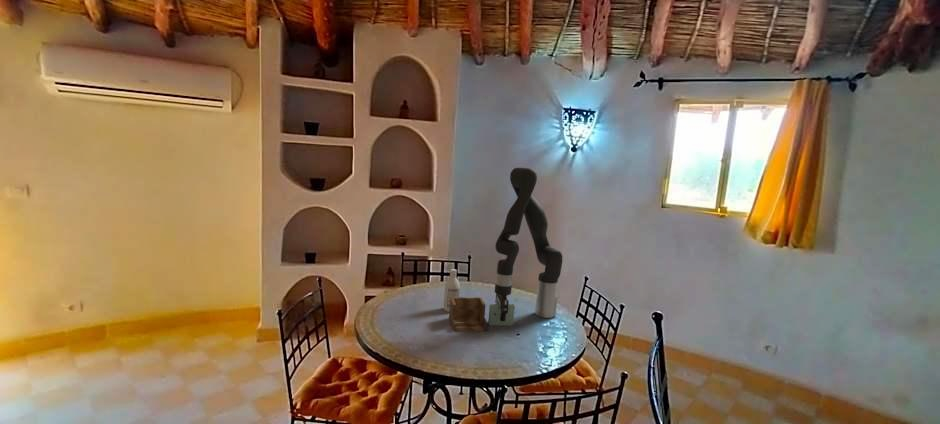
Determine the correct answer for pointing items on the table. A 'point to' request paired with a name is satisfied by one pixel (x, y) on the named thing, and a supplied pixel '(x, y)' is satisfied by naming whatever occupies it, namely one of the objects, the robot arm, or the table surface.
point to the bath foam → (451, 289)
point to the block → (496, 312)
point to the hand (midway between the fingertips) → (500, 317)
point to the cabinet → (467, 314)
